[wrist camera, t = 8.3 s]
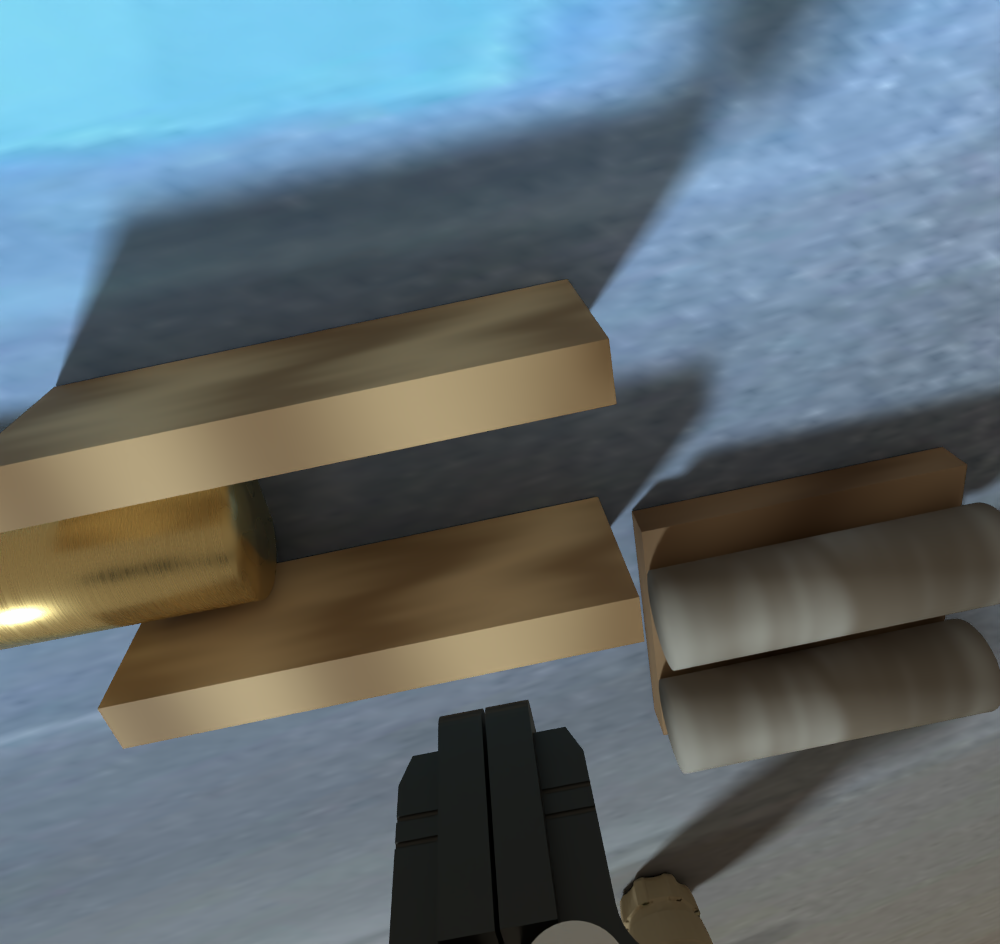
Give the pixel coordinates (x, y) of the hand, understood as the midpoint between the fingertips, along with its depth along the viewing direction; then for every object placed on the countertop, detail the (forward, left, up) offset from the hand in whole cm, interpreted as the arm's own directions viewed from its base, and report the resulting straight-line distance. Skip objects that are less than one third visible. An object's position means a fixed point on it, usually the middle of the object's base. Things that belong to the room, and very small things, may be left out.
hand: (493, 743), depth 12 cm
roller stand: (-10, +8, -11) cm, 16 cm away
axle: (+12, 0, -9) cm, 15 cm away
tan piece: (+3, 0, -11) cm, 11 cm away
